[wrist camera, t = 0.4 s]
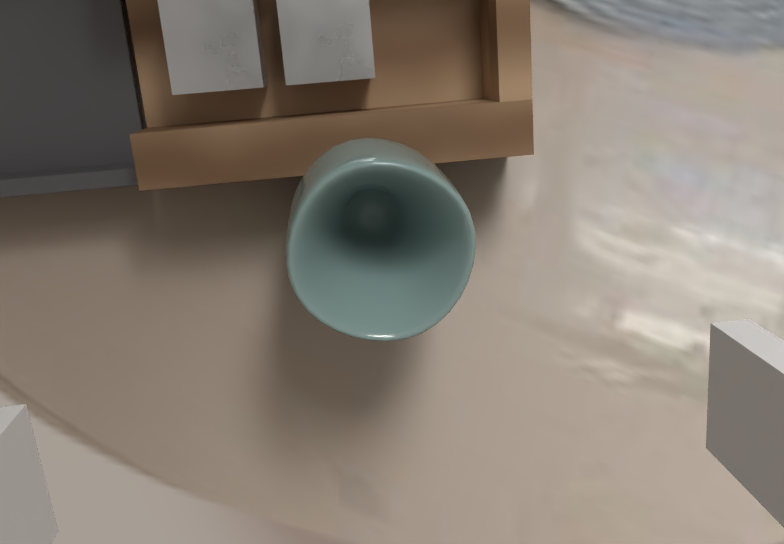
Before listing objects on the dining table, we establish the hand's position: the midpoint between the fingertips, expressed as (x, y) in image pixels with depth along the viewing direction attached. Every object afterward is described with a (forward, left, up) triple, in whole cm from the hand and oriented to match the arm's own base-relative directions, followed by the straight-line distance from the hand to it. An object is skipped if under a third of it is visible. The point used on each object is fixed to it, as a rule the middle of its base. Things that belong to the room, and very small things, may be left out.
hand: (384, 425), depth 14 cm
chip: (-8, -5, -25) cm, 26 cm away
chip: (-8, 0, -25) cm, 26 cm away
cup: (0, +1, -26) cm, 26 cm away
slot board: (-8, 0, -26) cm, 27 cm away
